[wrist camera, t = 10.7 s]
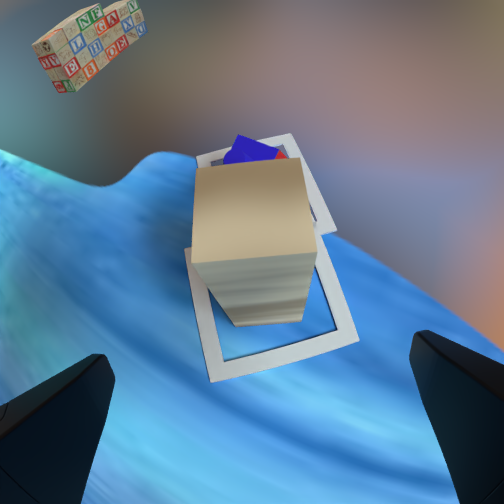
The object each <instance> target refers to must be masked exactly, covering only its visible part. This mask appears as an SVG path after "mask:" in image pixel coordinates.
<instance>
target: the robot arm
mask: <svg viewBox="0 0 504 504" xmlns="http://www.w3.org/2000/svg"><path fill="white" fill-rule="evenodd" d="M409 360H410V364H411V368H412V371H413V374H414V377H415V380H416V383H417V386H418V390H419V393H420V396H421V400H422V403H423V405H424V408H425V410H426V413H427V415H428V418H429V420H430V422H431V425H432V427H433V430H434V432H435V435H436V437H437V440H438V443H439V445H440V448H441V450H442V453H443V456H444V459H445V461H446V464H447V467H448V470H449V472H450V475H451V478H452V481H453V484H454V487H455V490H456V493H457V497H458V500H459V503H460V504H504V365H503V364H501V363H499V362H497V361H494V360H492V359H490V358H488V357H486V356H484V355H482V354H479V353H477V352H475V351H473V350H471V349H469V348H466V347H464V346H462V345H460V344H458V343H456V342H453V341H451V340H449V339H447V338H445V337H443V336H440V335H438V334H436V333H434V332H432V331H430V330H423V331H418V332H416V333H415V334H414V336H413V340H412V345H411V350H410V355H409ZM114 384H115V375H114V372H113V370H112V368H111V366H110V363H109V361H108V359H107V357H106V356H105V355H104V354H91V355H90V356H88V357H86V358H84V359H83V360H81V361H79V362H77V363H76V364H74V365H72V366H70V367H69V368H67V369H65V370H63V371H62V372H60V373H58V374H56V375H55V376H53V377H51V378H49V379H48V380H46V381H44V382H42V383H41V384H39V385H37V386H35V387H34V388H32V389H30V390H28V391H27V392H25V393H23V394H21V395H19V396H18V397H16V398H14V399H12V400H11V401H9V402H7V403H5V404H3V405H2V406H0V504H81V501H82V497H83V494H84V490H85V487H86V483H87V479H88V476H89V473H90V469H91V466H92V463H93V459H94V456H95V453H96V450H97V447H98V444H99V441H100V437H101V434H102V431H103V428H104V425H105V422H106V418H107V414H108V410H109V405H110V401H111V397H112V393H113V389H114Z"/></svg>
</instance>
